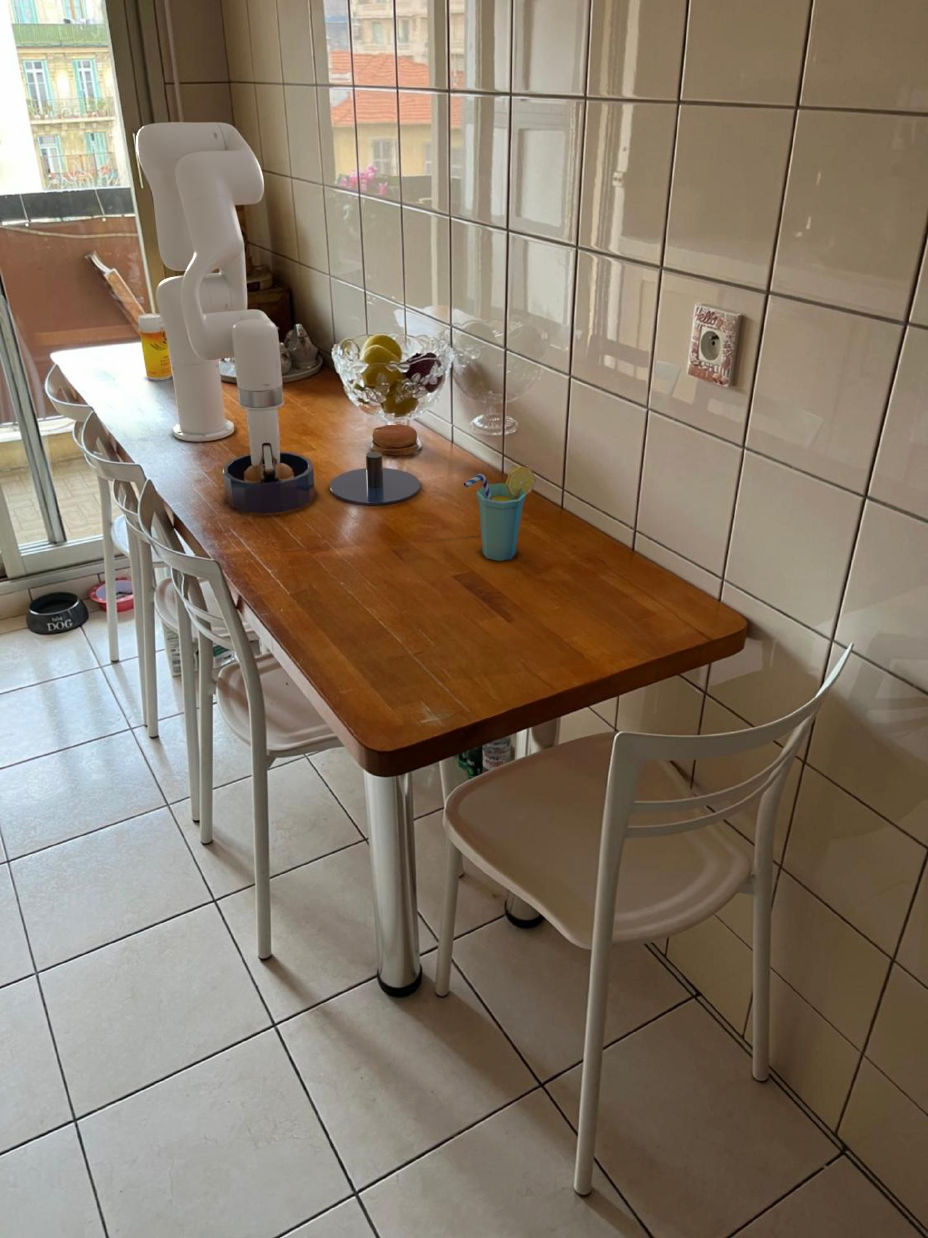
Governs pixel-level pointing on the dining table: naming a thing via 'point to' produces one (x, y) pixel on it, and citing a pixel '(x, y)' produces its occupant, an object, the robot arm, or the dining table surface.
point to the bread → (255, 472)
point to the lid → (374, 484)
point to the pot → (269, 486)
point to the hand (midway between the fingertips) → (270, 493)
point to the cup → (502, 512)
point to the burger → (395, 440)
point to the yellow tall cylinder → (154, 346)
